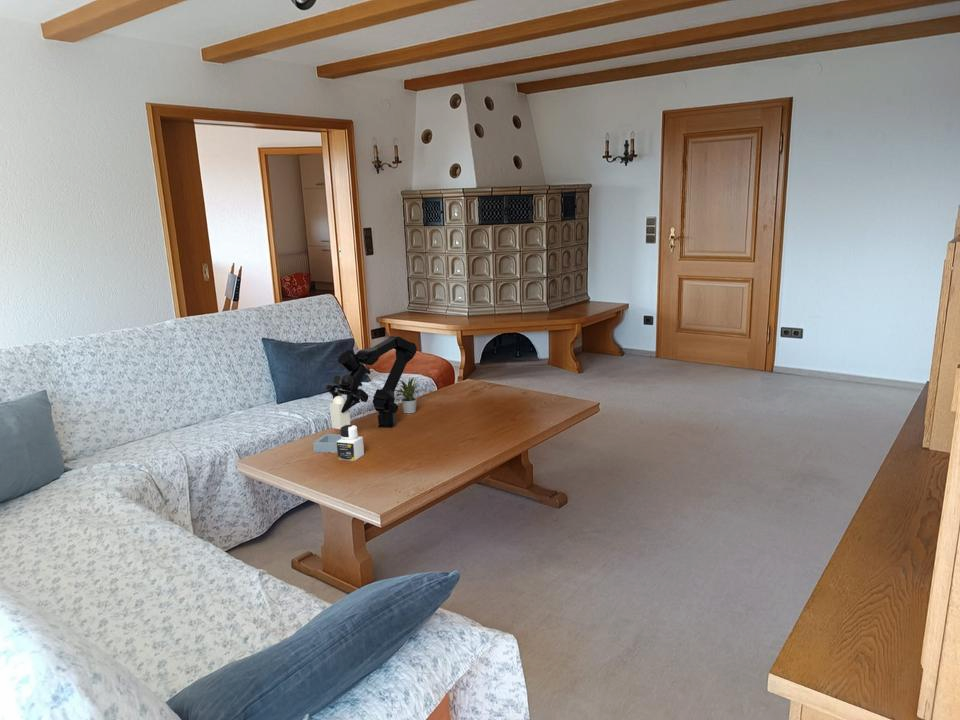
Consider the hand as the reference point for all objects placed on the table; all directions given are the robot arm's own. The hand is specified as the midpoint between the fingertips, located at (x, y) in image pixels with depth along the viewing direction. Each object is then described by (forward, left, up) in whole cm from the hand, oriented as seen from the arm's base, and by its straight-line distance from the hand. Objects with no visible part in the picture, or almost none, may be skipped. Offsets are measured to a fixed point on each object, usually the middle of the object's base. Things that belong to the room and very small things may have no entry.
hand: (337, 411), depth 255 cm
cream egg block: (-1, -1, -7) cm, 7 cm away
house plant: (-13, -46, -14) cm, 50 cm away
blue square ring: (+1, +3, -13) cm, 14 cm away
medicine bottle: (-10, +12, -14) cm, 21 cm away
